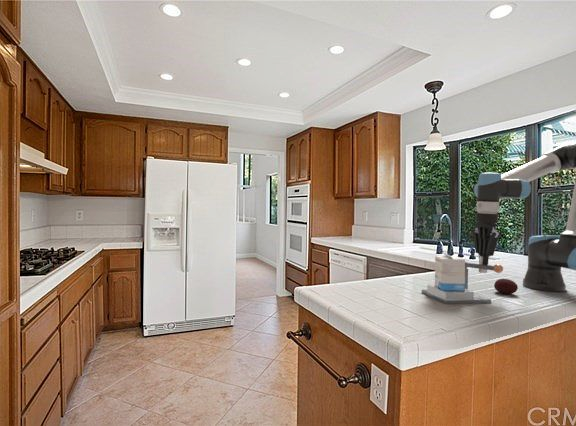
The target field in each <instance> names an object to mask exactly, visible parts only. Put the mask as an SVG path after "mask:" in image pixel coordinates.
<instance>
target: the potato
mask: <svg viewBox="0 0 576 426" xmlns="http://www.w3.org/2000/svg"><path fill="white" fill-rule="evenodd" d="M493 288H494V289H495V290H496V291H497V292H499V293H501V294H506V295H510V294H515V293H516V292H517V291H518V289H519V287H518V284H517V283H516V282H515V281H514V280H511V279H508V278H498V279H497V280H496V281H495V282H494V286H493Z"/></svg>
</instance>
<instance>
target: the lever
mask: <svg viewBox="0 0 576 426" xmlns="http://www.w3.org/2000/svg"><path fill="white" fill-rule="evenodd" d="M465 268H471V269H478V270H479V269H486V270H487V271H494V273H498V274H500V273H503V270H504V267H503V265H502V264H494V265H492V264H488V265H484V264H479V263H474V262H467V261H465Z"/></svg>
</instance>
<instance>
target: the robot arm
mask: <svg viewBox="0 0 576 426" xmlns="http://www.w3.org/2000/svg"><path fill="white" fill-rule="evenodd" d="M563 170H564V171H566V170H573V171H574V172H575V173H576V140H573V141H572V140H571V141H569V142H566V143H563V144H561V145H559V146H557V147H555V148H553V149H550V150H548V151H546V152H544V153H543V154H541V156H540V157H539V158H536V159H534V160H532V161H530V162H528V163H525V164H523V165H521V166H519V167H516V168H514V169H512V170H509V171H508V172H505V173H503V174H501V173H500V172H482V173H480V174H478V179H477V184H475V186H474V188H473V193H474V196H475V197H476V210H475V211H476V213H475V222H476V223H477V225H476V228H472V233H473V234H472V235H473V242H474V249H475V251H474V252H475V253H476V254H478V257H479V258H478V264H484V265H489V258H490V257H493V256H494V255H495V252H496V251H495V250H496V249H497V245H498V244H497V243H498V240H499V238H500V236H501V232H498V231H497V230H496V229H497V228H496V224H498V222H499V214H498V213H499V212H500V200H501V199H503V200H504V199H507V200H508V199H516V200H519V199H525V198H527V197H529V196H530V193H531V191H532V190H531V189H532V186H531V182H532V181H534V180H536V179H539V178H541V177H543V176H545V175H547V174H554V173H557V172H560V171H563ZM573 187H574V188H573V193H572V199H571V202H570V203H571V204H570V208H569V213H568V217H567V222H566V227H565V230H564V231H563V232H560V233H559V235H558V234H557V235H556V234H555V235H553V234H552V235H551V234H550V235H532V236H530V237H529V239H528V244H527V268H526V272H525V275H524V278H523V279H522V286H523V287H525V288H529V289H534V290H539V291H544V292H545V291H547V292H564V291H565V292H566V290H567V285H566V283H565V280H564V278H563V274H562V268H564V269H568V270H573V271H576V181H575V182H574V186H573ZM478 273H480V274H481V273H482V274H487V273H488V270H486V269H478Z"/></svg>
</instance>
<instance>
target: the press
mask: <svg viewBox="0 0 576 426" xmlns="http://www.w3.org/2000/svg"><path fill="white" fill-rule="evenodd" d="M468 283H469V267H467V268H465V291H453V290H441V289H440V288H438V287H437V286H435V284H427V286H426V288H427V289H421V294H423V295H426V296H428V297H430V298H432V299H435V300H436V301H438V302H440V303H443V304H445V305H463V304H466V305H467V304H492V299H491V298H488V297H486V296H482V295H480V294H477V293H475V292H474V291H473V290H470V289H468V288H469V285H468Z"/></svg>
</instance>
